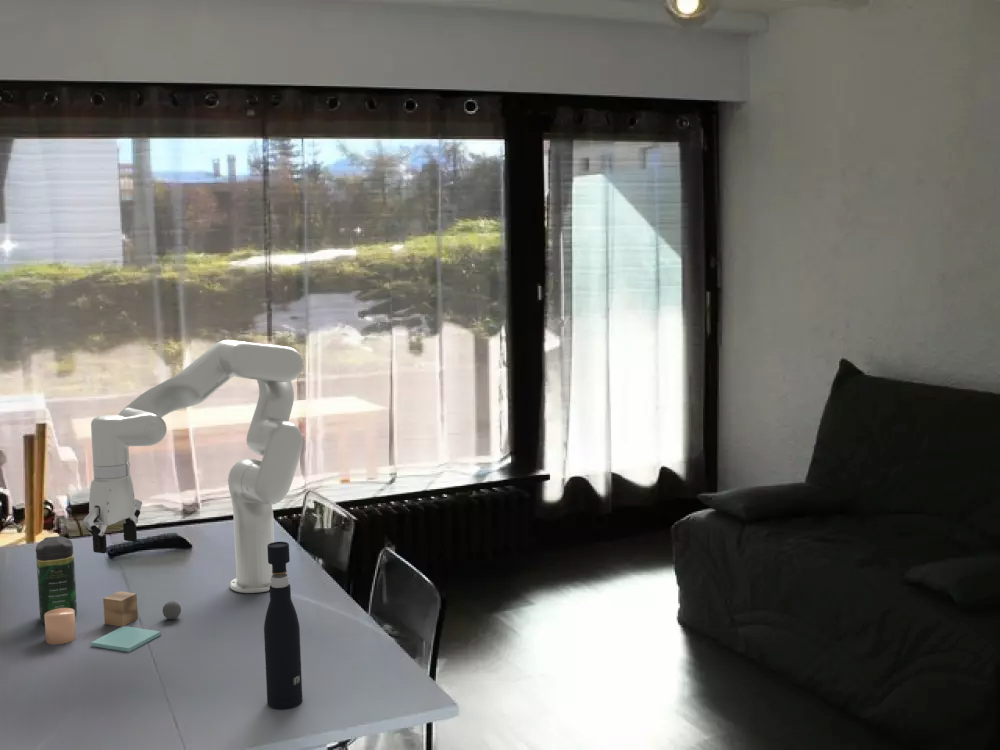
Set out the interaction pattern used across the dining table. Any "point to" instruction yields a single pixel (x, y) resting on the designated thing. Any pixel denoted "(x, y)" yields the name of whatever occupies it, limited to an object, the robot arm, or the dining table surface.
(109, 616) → the walnut block
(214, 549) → the dining table surface
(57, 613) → the beige rounded cylinder
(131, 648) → the coaster
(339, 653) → the dining table surface
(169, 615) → the rubber ball
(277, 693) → the insulated water bottle
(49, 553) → the coffee jar
